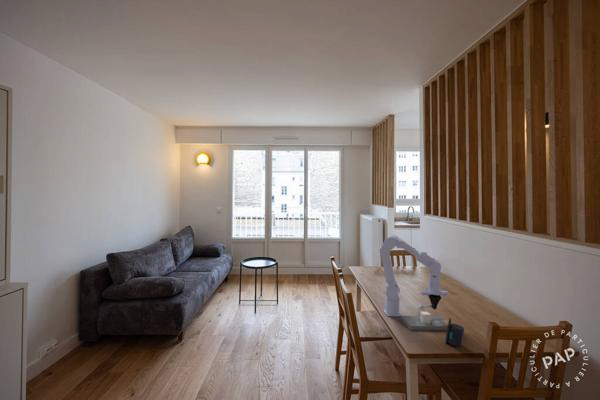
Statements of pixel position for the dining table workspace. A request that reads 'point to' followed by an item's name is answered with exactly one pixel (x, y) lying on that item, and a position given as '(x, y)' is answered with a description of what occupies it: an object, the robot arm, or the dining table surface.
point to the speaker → (454, 334)
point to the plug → (425, 318)
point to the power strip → (415, 324)
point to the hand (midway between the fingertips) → (434, 308)
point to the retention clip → (423, 307)
